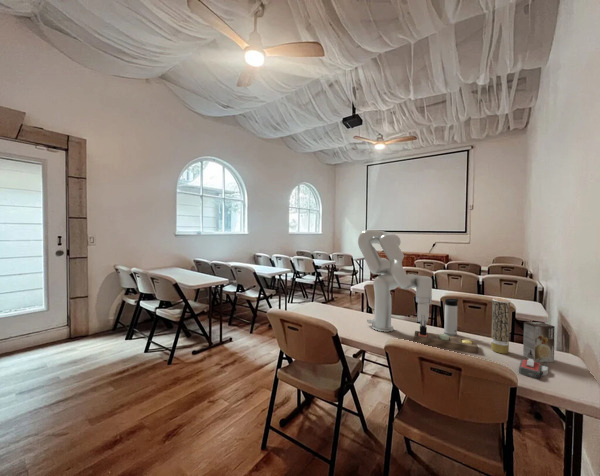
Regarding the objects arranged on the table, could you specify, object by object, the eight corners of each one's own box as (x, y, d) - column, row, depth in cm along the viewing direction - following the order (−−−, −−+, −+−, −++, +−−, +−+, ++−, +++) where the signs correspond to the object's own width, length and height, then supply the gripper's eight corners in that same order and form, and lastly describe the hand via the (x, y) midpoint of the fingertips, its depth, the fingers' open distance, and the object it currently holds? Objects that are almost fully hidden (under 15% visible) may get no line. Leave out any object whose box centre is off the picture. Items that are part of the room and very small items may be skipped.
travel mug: (459, 336, 151) (460, 300, 151) (446, 335, 152) (447, 299, 152) (455, 332, 157) (456, 298, 157) (442, 331, 158) (443, 297, 158)
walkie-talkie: (547, 383, 104) (548, 366, 119) (547, 372, 104) (549, 356, 119) (517, 375, 110) (522, 359, 125) (518, 364, 110) (523, 350, 125)
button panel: (413, 342, 142) (414, 336, 142) (414, 336, 151) (415, 330, 151) (477, 353, 130) (478, 347, 130) (474, 345, 139) (475, 339, 139)
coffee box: (541, 355, 128) (542, 321, 128) (554, 362, 122) (555, 326, 122) (522, 355, 128) (523, 321, 128) (534, 362, 121) (535, 326, 121)
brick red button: (417, 340, 144) (418, 335, 143) (418, 338, 147) (418, 332, 147) (427, 342, 142) (427, 336, 142) (427, 339, 146) (427, 333, 146)
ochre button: (462, 348, 135) (462, 342, 135) (461, 345, 139) (461, 339, 139) (472, 350, 133) (472, 343, 133) (471, 346, 137) (471, 340, 137)
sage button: (439, 341, 139) (439, 335, 139) (439, 338, 143) (439, 333, 143) (449, 343, 137) (449, 337, 137) (448, 340, 141) (448, 334, 141)
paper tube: (511, 355, 129) (513, 301, 128) (495, 353, 130) (497, 301, 129) (503, 349, 135) (505, 298, 135) (488, 347, 136) (489, 297, 136)
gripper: (416, 296, 153) (416, 329, 153) (415, 302, 139) (414, 338, 139) (431, 297, 149) (431, 331, 149) (431, 303, 136) (430, 340, 136)
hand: (423, 334), depth 144 cm, fingers closed
